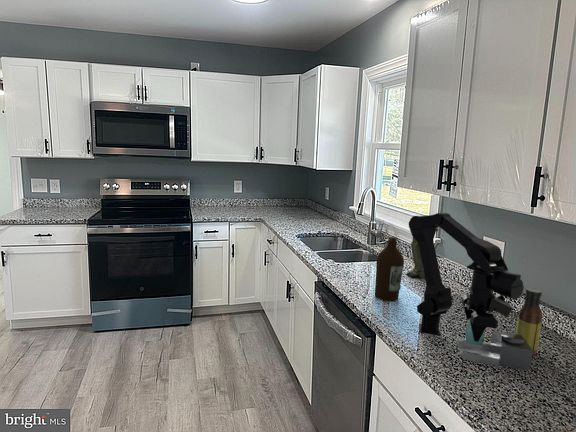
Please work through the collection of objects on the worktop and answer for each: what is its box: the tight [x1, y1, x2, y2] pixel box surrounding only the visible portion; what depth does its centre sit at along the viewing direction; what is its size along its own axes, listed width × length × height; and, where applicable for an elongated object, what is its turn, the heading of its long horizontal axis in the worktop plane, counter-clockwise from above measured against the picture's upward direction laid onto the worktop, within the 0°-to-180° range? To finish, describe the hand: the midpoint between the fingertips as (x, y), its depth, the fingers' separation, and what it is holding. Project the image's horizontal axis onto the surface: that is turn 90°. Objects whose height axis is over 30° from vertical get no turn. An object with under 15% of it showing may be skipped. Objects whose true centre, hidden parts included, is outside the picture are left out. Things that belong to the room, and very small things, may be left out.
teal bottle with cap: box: [464, 319, 486, 345], centre depth 119 cm, size 5×5×7 cm
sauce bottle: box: [515, 287, 543, 356], centre depth 121 cm, size 7×6×20 cm
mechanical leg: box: [405, 227, 439, 279], centre depth 193 cm, size 14×7×30 cm, turn 106°
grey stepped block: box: [456, 330, 533, 371], centre depth 118 cm, size 10×18×7 cm, turn 77°
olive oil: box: [374, 236, 405, 302], centre depth 161 cm, size 11×11×25 cm
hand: (474, 337), depth 119 cm, fingers closed on teal bottle with cap, 5 cm apart
